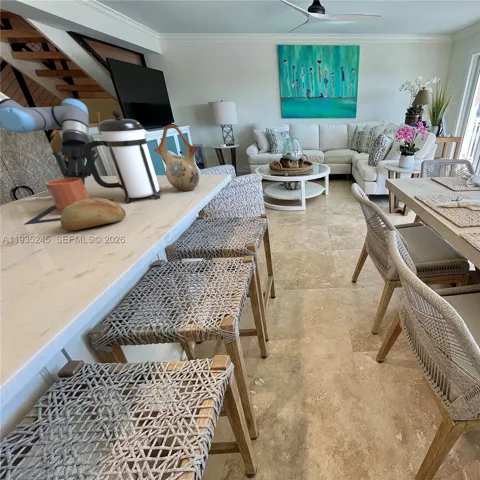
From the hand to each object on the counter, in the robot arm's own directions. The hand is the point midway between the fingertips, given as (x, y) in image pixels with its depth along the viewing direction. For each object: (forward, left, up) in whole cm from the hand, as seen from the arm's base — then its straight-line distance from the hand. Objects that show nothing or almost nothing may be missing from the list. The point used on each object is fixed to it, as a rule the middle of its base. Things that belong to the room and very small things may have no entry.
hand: (77, 193), depth 92 cm
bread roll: (+12, -24, -5) cm, 27 cm away
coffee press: (+18, +1, -5) cm, 18 cm away
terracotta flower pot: (0, -6, -4) cm, 7 cm away
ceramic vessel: (+34, +6, -5) cm, 35 cm away
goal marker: (0, -5, -4) cm, 7 cm away
